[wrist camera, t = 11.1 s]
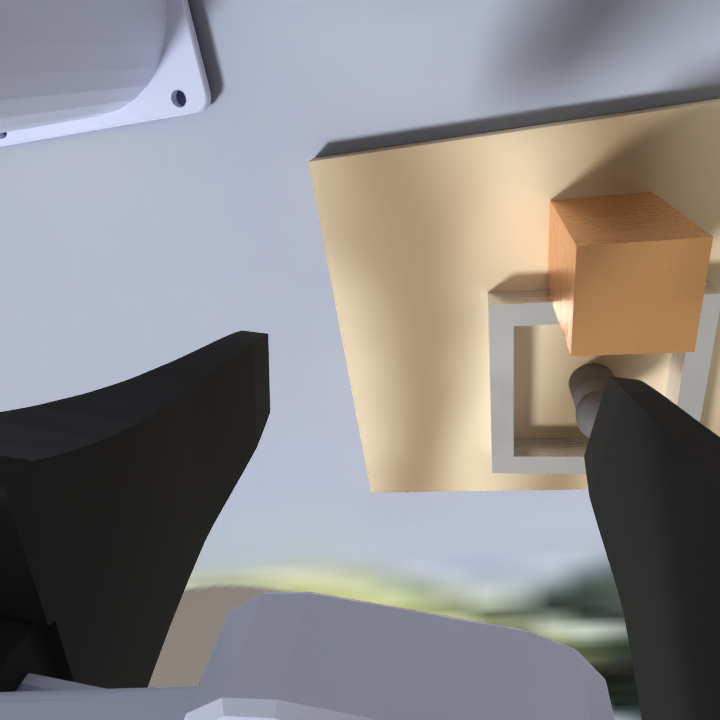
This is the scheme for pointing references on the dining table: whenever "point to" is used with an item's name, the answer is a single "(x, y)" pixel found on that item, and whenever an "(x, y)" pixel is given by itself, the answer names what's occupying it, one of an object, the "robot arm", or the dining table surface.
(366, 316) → the board
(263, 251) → the dining table surface
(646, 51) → the dining table surface
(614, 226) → the square frame with cube
